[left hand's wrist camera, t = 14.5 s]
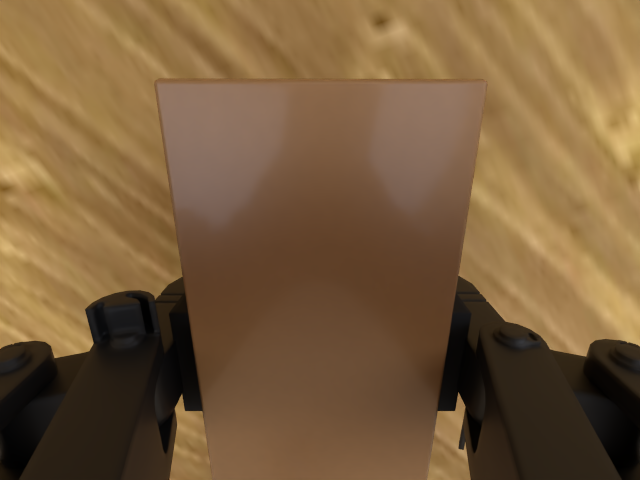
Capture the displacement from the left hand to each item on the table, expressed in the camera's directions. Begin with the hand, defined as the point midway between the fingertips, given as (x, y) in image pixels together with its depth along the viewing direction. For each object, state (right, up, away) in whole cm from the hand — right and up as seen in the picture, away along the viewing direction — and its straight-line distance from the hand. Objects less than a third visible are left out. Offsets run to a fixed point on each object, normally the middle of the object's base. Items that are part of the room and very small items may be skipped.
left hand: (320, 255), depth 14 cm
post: (0, -24, +10) cm, 26 cm away
